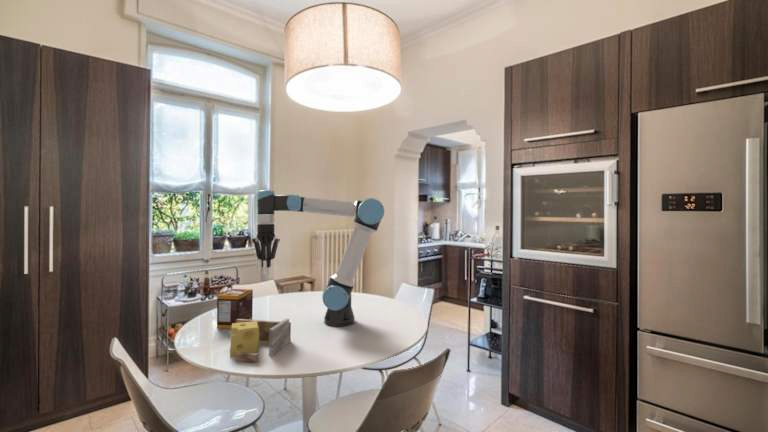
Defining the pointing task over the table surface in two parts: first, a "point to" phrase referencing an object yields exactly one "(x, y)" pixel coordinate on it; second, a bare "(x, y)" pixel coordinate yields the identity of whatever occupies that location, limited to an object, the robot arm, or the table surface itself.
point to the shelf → (268, 338)
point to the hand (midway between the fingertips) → (266, 274)
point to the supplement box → (234, 307)
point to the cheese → (244, 337)
